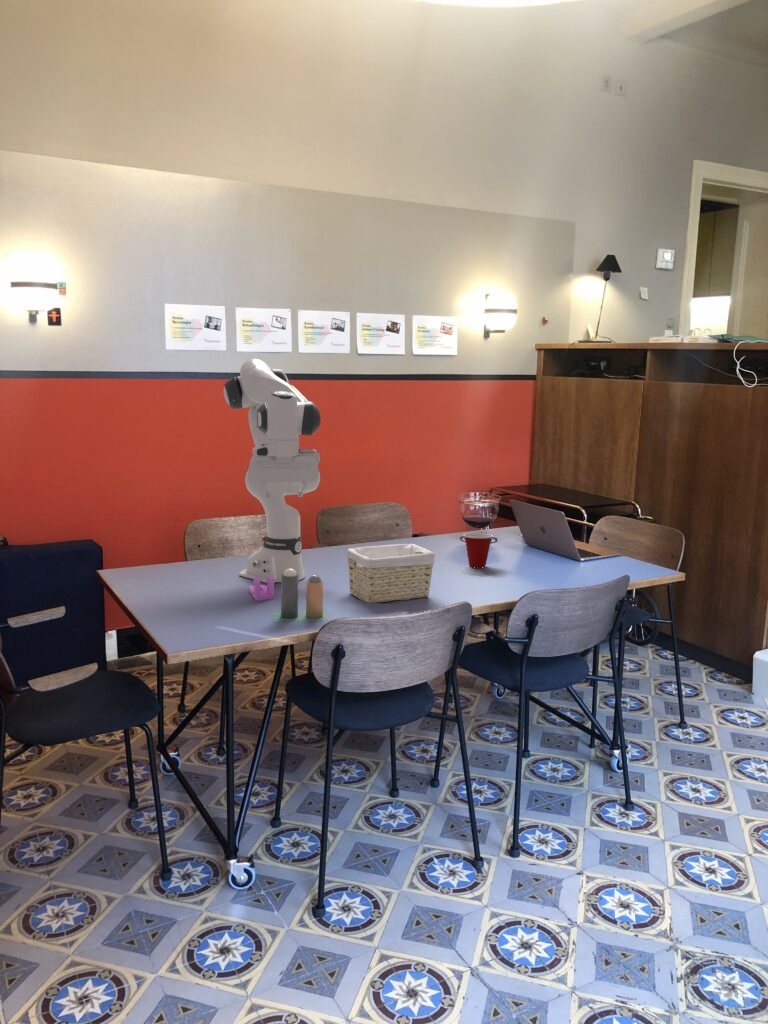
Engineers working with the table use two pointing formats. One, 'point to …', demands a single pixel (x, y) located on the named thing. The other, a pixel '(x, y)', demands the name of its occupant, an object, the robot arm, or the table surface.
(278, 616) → the green card
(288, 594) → the charcoal tube
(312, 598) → the orange cylinder
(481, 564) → the plastic cup
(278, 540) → the robot arm
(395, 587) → the storage basket
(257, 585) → the bracket
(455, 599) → the table surface
